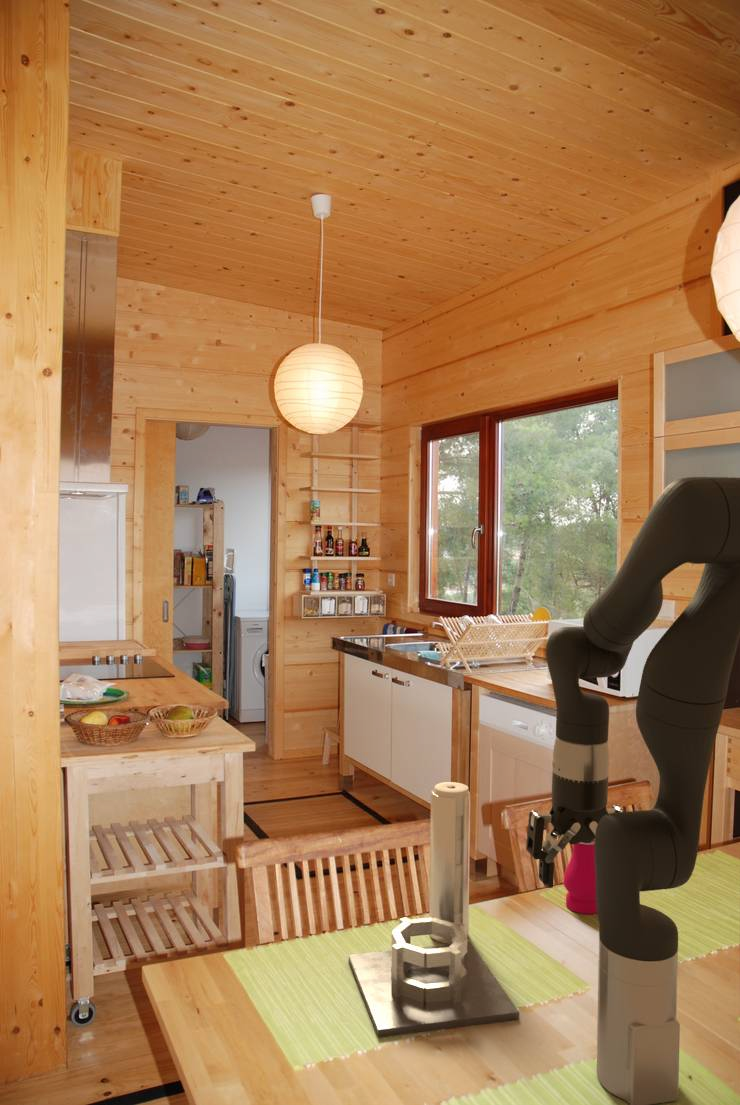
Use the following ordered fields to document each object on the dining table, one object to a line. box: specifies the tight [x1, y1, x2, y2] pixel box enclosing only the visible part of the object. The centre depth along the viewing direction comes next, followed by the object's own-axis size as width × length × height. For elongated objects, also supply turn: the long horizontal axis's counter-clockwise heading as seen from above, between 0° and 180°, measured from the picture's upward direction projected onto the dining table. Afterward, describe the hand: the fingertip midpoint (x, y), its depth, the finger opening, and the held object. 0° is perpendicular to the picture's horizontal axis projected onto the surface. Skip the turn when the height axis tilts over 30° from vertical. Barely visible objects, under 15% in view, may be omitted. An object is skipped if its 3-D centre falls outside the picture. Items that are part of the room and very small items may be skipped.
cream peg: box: [428, 781, 471, 944], centre depth 140 cm, size 6×6×25 cm
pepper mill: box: [563, 840, 597, 915], centre depth 151 cm, size 7×7×20 cm
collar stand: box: [348, 916, 520, 1038], centre depth 124 cm, size 20×20×8 cm
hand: (575, 883), depth 118 cm, fingers open, 8 cm apart
